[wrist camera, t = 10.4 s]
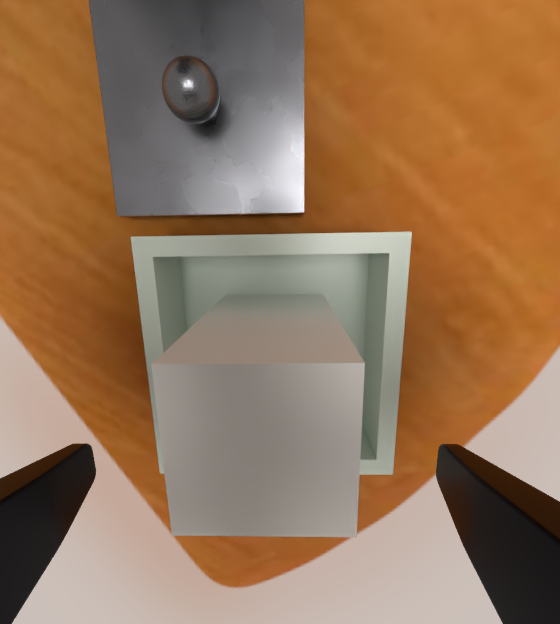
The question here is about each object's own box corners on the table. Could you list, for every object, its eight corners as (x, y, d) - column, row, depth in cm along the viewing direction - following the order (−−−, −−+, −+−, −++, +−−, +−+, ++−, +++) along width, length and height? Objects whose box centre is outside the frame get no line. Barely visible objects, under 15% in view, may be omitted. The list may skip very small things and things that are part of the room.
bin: (168, 236, 16) (130, 236, 12) (381, 233, 16) (412, 231, 12) (186, 424, 19) (160, 473, 15) (370, 424, 19) (392, 474, 15)
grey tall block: (230, 384, 17) (172, 535, 9) (225, 295, 16) (151, 364, 7) (321, 384, 17) (356, 537, 8) (323, 293, 16) (364, 363, 7)
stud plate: (101, 7, 14) (34, -75, 10) (303, -1, 14) (308, -88, 10) (127, 217, 16) (80, 211, 12) (303, 213, 16) (307, 207, 12)
